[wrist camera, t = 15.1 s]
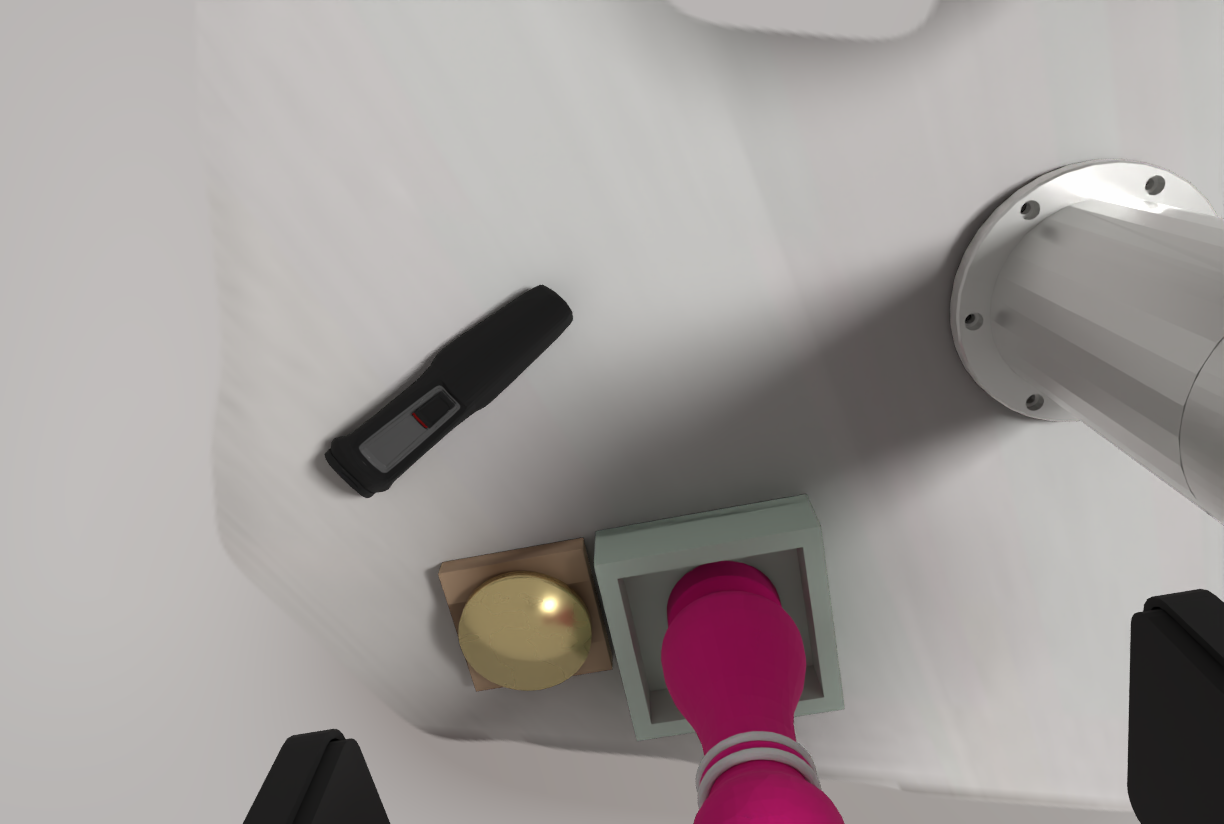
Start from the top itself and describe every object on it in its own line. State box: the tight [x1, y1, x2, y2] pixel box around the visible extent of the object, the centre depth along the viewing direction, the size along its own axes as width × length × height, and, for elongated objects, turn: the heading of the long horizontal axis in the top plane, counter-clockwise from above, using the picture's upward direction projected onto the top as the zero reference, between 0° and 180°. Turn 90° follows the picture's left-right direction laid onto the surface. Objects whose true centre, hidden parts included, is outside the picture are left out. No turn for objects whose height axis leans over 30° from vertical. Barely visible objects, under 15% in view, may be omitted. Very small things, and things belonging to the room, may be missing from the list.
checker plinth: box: [438, 538, 613, 691], centre depth 47 cm, size 8×8×1 cm
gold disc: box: [458, 571, 592, 691], centre depth 46 cm, size 7×7×2 cm
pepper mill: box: [661, 561, 844, 824], centre depth 37 cm, size 7×7×20 cm
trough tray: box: [594, 494, 845, 741], centre depth 46 cm, size 12×12×4 cm
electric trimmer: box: [325, 285, 573, 498], centre depth 42 cm, size 4×16×3 cm, turn 129°
